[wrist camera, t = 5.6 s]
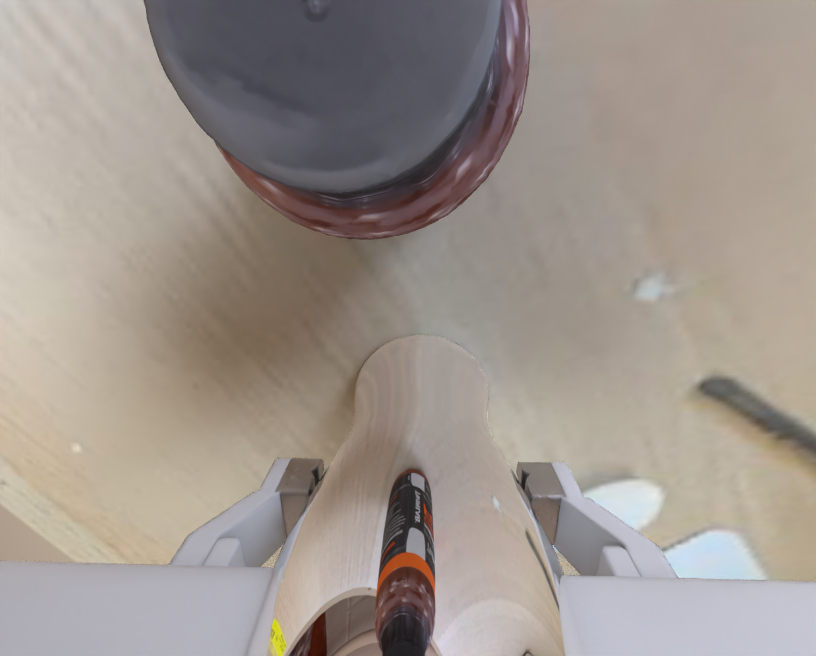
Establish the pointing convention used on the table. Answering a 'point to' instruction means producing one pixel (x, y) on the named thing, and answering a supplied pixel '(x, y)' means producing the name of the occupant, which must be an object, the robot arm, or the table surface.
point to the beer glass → (418, 530)
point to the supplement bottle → (351, 100)
